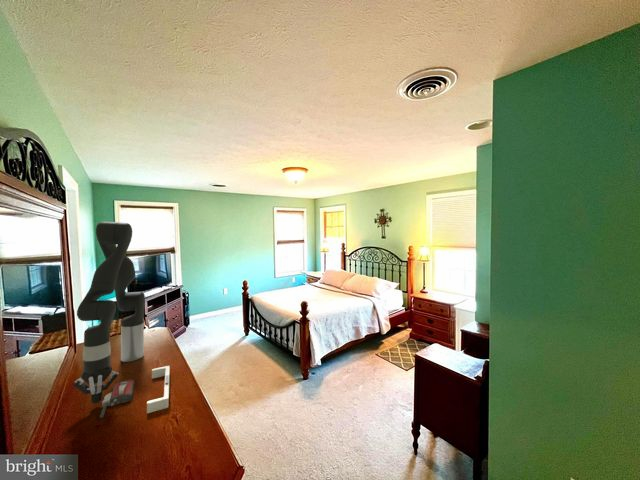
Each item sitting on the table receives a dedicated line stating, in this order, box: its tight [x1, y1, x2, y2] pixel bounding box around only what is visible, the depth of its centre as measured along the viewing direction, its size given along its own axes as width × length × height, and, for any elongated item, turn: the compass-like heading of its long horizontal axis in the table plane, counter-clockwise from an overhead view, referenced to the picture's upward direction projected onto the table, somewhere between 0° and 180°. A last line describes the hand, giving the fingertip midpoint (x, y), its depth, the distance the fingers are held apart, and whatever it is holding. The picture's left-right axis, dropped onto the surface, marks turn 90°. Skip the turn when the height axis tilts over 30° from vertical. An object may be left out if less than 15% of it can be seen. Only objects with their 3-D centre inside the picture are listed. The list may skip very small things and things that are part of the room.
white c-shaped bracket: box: [146, 365, 171, 414], centre depth 102 cm, size 26×6×4 cm, turn 30°
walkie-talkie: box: [99, 378, 135, 419], centre depth 95 cm, size 9×4×20 cm
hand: (96, 402), depth 92 cm, fingers closed
